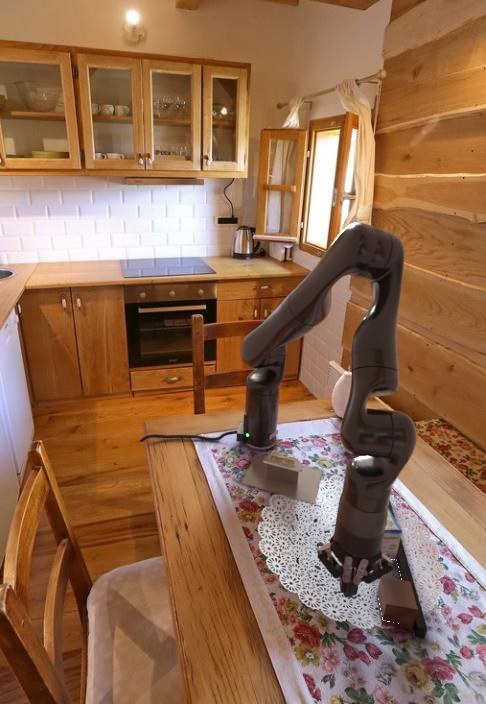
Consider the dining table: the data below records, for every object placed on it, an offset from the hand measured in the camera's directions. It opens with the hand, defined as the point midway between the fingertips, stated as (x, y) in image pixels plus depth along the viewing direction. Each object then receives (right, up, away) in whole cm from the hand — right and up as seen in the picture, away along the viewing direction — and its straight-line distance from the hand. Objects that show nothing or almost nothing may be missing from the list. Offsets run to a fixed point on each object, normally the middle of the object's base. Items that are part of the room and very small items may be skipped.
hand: (347, 592), depth 72 cm
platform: (-7, +9, +30) cm, 32 cm away
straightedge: (+13, +1, +10) cm, 16 cm away
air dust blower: (+17, +18, +57) cm, 62 cm away
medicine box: (+9, +2, +11) cm, 15 cm away
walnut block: (+8, -3, -1) cm, 8 cm away
